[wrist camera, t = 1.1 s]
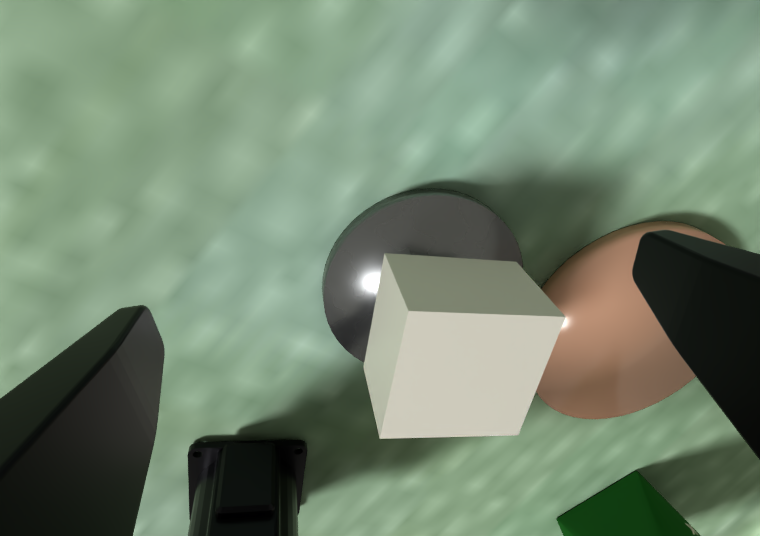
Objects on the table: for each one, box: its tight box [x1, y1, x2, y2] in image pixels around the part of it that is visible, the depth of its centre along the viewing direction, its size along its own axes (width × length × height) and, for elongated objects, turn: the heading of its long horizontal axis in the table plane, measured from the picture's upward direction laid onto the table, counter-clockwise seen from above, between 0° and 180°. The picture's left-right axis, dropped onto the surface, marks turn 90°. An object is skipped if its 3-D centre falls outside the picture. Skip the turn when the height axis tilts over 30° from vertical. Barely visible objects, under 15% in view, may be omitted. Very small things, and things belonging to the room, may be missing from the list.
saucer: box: [536, 221, 725, 419], centre depth 28 cm, size 13×13×1 cm
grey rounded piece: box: [322, 189, 523, 362], centre depth 22 cm, size 10×10×6 cm
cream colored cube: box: [364, 253, 566, 439], centre depth 20 cm, size 6×6×4 cm
